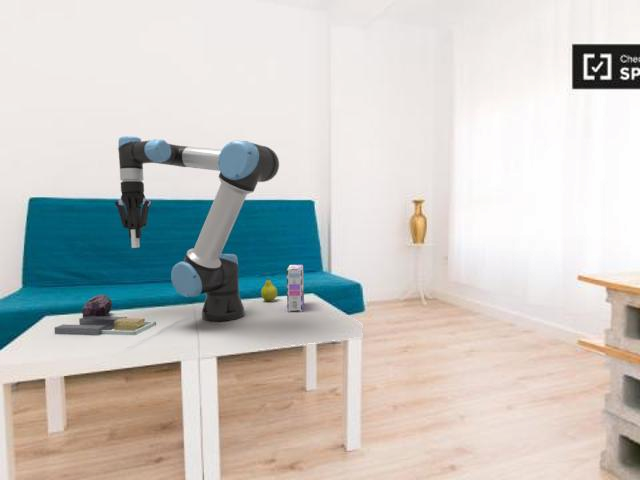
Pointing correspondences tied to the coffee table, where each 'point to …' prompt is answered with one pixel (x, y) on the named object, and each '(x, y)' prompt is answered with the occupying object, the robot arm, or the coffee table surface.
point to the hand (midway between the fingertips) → (135, 247)
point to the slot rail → (88, 326)
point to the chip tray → (116, 332)
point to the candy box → (295, 288)
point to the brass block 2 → (134, 324)
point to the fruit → (268, 291)
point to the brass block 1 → (121, 324)
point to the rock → (97, 306)
